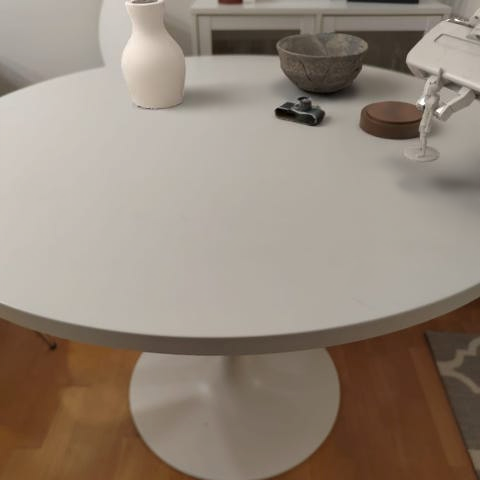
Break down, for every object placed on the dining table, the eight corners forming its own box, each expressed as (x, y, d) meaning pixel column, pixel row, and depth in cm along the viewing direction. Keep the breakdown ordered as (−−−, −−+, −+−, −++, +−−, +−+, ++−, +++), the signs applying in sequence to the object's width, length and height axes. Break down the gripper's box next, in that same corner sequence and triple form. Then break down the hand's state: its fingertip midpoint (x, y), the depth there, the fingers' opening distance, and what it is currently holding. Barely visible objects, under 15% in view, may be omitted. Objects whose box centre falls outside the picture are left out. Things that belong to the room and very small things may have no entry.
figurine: (407, 144, 73) (423, 65, 65) (441, 149, 71) (462, 68, 63) (400, 158, 70) (416, 76, 62) (436, 164, 68) (457, 80, 60)
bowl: (322, 111, 98) (326, 61, 92) (257, 89, 110) (257, 44, 104) (380, 88, 108) (387, 41, 102) (315, 70, 120) (318, 27, 114)
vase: (200, 94, 109) (192, -4, 96) (167, 114, 100) (152, 9, 86) (151, 86, 114) (137, -8, 101) (115, 105, 105) (94, 4, 92)
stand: (414, 112, 96) (417, 98, 94) (436, 137, 86) (440, 122, 85) (353, 115, 96) (354, 100, 94) (368, 140, 86) (370, 125, 84)
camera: (285, 109, 100) (286, 89, 97) (327, 119, 95) (329, 98, 92) (272, 116, 97) (273, 96, 94) (315, 127, 92) (317, 106, 89)
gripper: (440, -1, 67) (374, 79, 71) (566, 27, 53) (476, 125, 57) (454, 29, 71) (392, 103, 75) (575, 62, 57) (491, 152, 61)
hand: (429, 113), depth 66 cm, fingers closed on figurine, 2 cm apart
